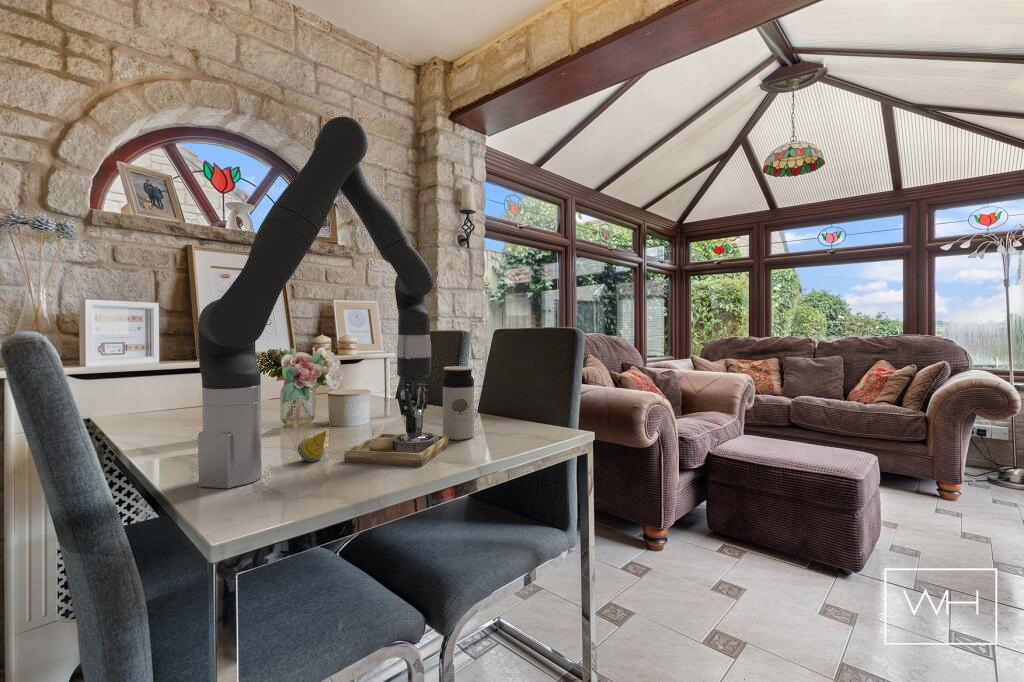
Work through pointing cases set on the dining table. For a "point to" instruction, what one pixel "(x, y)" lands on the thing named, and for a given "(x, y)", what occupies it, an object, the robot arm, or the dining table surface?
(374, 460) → the carrier
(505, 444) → the dining table surface
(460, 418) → the travel mug
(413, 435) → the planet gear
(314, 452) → the yellow grey teardrop
